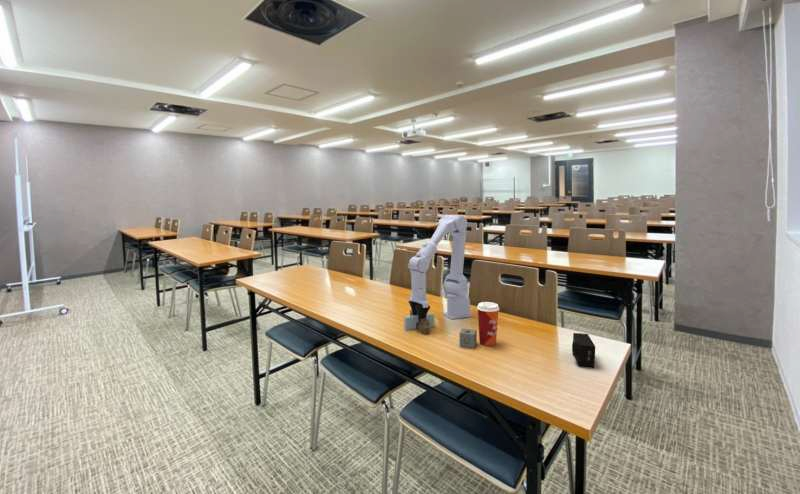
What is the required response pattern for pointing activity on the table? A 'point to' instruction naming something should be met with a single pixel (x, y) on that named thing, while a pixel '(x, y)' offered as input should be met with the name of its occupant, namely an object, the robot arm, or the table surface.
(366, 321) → the table surface
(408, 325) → the pale blue-gray block
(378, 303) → the table surface
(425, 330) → the walnut u-shaped block
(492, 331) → the paper cup
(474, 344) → the gray cube with hole
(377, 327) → the table surface
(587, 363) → the digital camera
